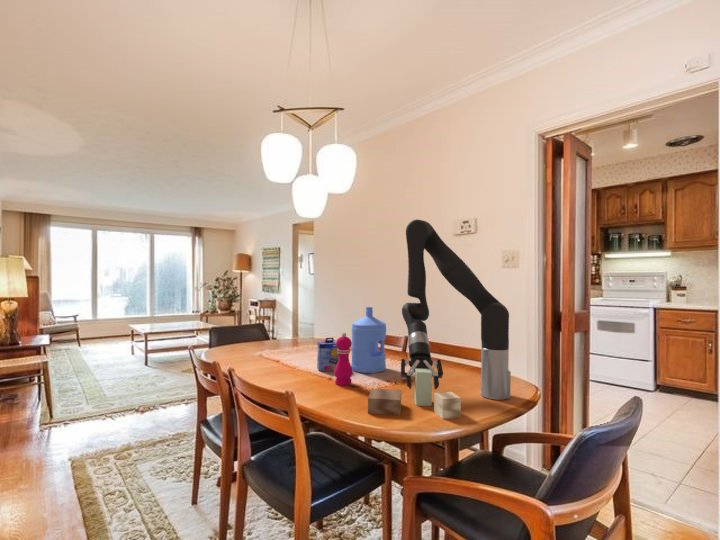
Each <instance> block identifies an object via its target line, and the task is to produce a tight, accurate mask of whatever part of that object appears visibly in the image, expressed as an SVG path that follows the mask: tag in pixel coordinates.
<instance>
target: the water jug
mask: <svg viewBox="0 0 720 540" xmlns="http://www.w3.org/2000/svg"><path fill="white" fill-rule="evenodd" d="M373 309H374V308H373V307H371V306H366V307H365V316H363V317H362V318H360V319H357V320H356V321H354V322H352V324H351V325H352V326H351V342H352V344H351V347H350V350H351V363H350V365H351V367H352V370H353V371H354V372H356V373H359V372H361V373H360V374H377V373H376V372H379V373H382V372H384V371H386V368H387V366H386V365H387V364H386V358H387V357H386V355H387V354H386V353H385V341H386V338H387V324H386V322H384V321H381V320H379V319H378V318H376V317H374V315H373V313H374V311H373ZM379 342H380V344H379ZM379 345H380V347H379ZM379 348H380V349H379ZM381 371H382V372H381Z"/></svg>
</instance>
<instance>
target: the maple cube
mask: <svg viewBox="0 0 720 540" xmlns="http://www.w3.org/2000/svg"><path fill="white" fill-rule="evenodd" d="M461 403H462V398H461V396H459V395H457V394H455V393H454V392H452V391H446V392H445V391H443V392H434V393H433V412H434V413H435V414H436V415H437V416H438V417H440V418H441V419H442V420H446V419H458V418H461V417H462V416H461V415H462V414H461V412H462V411H461V409H462V404H461Z"/></svg>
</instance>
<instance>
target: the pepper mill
mask: <svg viewBox="0 0 720 540" xmlns="http://www.w3.org/2000/svg"><path fill="white" fill-rule="evenodd" d="M336 341H337V342H336V345H337V347H338V353H339V359H338V363H337V365H336V367H335V370H333V373H334V376H335V377H336V378H335V385H337V386H340V387H347V386H350V385H352V378H351V377H352V376H353V375H354V374H353V373H354V372H353V371H354V370H352V367H351V363H350V353H351V347H352V339H351V338H350V337H348V336H347V333H346V332H342V333H341V336H340V337H338V339H337V340H336Z"/></svg>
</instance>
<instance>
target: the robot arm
mask: <svg viewBox="0 0 720 540" xmlns="http://www.w3.org/2000/svg"><path fill="white" fill-rule="evenodd" d="M405 238H406V247H407V248H406V249H407V258H408V260H407V262H408V265H407V266H408V269H407V270H408V273H407V296H409V297H411V298H415V299H418V300H419V302H406V303H405V304H403V306H402V308H401V315H402V317H403V320H404V322H405V324H406V327H407V333H408V341H407V343H408V345H407V346H408V355H409V356H408V357H409V360H405V359H406V358H401V359H400V377H401V378H405V379H406V387H407V388H408V389H409V390H411V389H412V376H413V375H415V368H416V369H430V370H431V372H432V382H433V389H434V390H437V389H438V388H439V385H440V380H439V379H443V375H444V370H443V366H442V365H443V364H442V361H441V359H437V360H433V359H432V355H431V348H430V341H429V338H428V330H427V324H426V323H425V322H426V321H427V320H428V318H429V317H430V310H429V306H428V302H427V293H426V291H427V290H426V289H427V288H426V287H427V273H426V272H427V271H426V267H425V266H426V265H425V257H424V254H425V251H426V252H427V253H428V254H429V255H430V256H431V258H432V259H433V262H434V263H435V265H436V268H437V269H438V271H439V272H440V274H441V275H442V277H444V278H445V280H446V281H447V282H448V283H449V284H450V285H451V286H452V287H453V288H454V289H455V290H456V291H457V292H458V293H460V294H461V295H462V296H463V297H464V298H466V299H467V300H468V301H470V303H471V304H472V305H473V306H474V308H476V310H477V311H478V312H479V314H480V341H481V354H480V355H481V360H480V361H481V362H480V363H481V365H480V366H481V367H480V368H481V369H480V371H481V372H480V373H481V374H480V375H481V376H480V396H482V397H483V398H486V399H490V400H494V401H495V400H496V401H498V400H499V401H501V400H507V399H509V400H510V399H511V383H512V382H511V381H512V380H511V379H512V378H511V377H512V376H511V373H512V372H511V371H510V370H509V368H510V367H509V364H510V363H509V359H510V358H509V357H510V356H509V355H510V353H509V351H510V337H509V336H510V333H509V329H510V328H509V327H510V312H509V310H508V308H507V307H506V306H505V305H504V304H503V303H501V302H500V301H499V300H498V299H497V298H495V296H494V295H492V294H491V293H490V292H489V291H488V289H486V288H485V286H484V285H483V284H482V281H481V280H479V279H480V278H479V277H478V276H477V275H476V274H475V273H474V272H473V270H471V268H470V267H469V266H468V265H467V263H466V262H465V261H464V260H463V259H462V258H461V257H460V256H458V255H457V253H456V252H454V250H452V249H451V247H449V246H448V245H447V244H446V243H445V242H444V240H443V239H442V238H441V237H440V236H439V233H438V232H437V231H436V230H435V229H434V227H433V226H432V225H431V223H429V222H428V221H426V220H422V219H414V220H411V221H410V222H409V223H408V224H407V226H406V227H405ZM407 366H410V368H409V370H408V371H406V368H407ZM433 366H434V367H433ZM434 368H435V369H436V370H437V371H435V369H434Z"/></svg>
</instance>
